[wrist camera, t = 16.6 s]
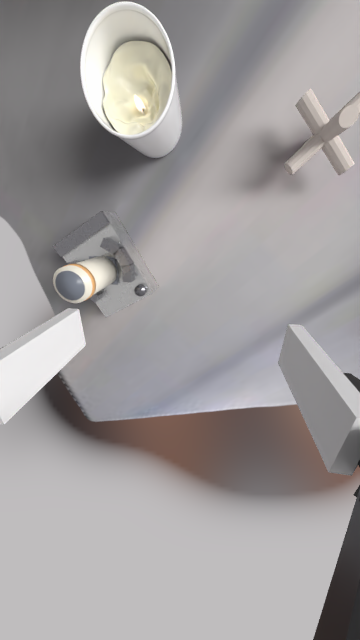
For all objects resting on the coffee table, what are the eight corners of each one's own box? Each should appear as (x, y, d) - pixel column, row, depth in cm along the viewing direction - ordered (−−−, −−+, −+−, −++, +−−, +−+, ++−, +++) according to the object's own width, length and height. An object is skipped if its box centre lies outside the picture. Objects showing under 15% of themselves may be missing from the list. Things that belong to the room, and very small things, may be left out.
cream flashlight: (93, 283, 39) (55, 303, 30) (88, 254, 37) (47, 265, 27) (120, 285, 38) (91, 305, 29) (117, 255, 36) (84, 267, 27)
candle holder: (123, 160, 35) (83, 132, 24) (124, 76, 30) (75, -4, 20) (182, 168, 34) (169, 143, 23) (192, 83, 30) (181, 4, 19)
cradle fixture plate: (72, 243, 41) (46, 247, 35) (115, 212, 38) (96, 210, 32) (116, 308, 46) (100, 322, 40) (158, 285, 43) (149, 296, 36)
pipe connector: (296, 203, 34) (326, 196, 25) (258, 147, 32) (276, 118, 23) (362, 146, 30) (426, 114, 21) (324, 79, 28) (377, 11, 19)
